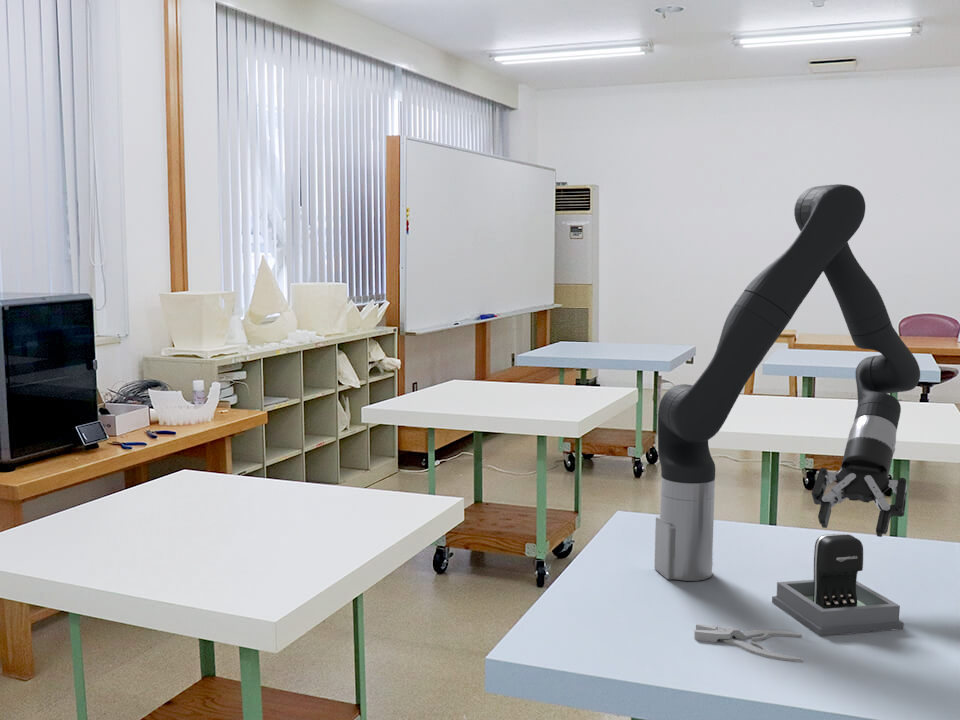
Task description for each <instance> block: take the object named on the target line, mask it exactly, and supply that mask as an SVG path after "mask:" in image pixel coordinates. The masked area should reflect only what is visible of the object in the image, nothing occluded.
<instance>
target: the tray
mask: <svg viewBox="0 0 960 720" xmlns="http://www.w3.org/2000/svg"><path fill="white" fill-rule="evenodd" d="M813 591H814V579H806V580H805V579H804V580H790V581H789V580H788V581H777V583H776V595H772V596H771V602H772V603H771V604H773V605H775V606H777V608H779V609H781V610H782V611H783V612H785V613H786V614H788V615H789V616H790V617H791V618H793V619H795V620H796V621H797V622H799V623H800V624H802V625H803V626H804V627H806V628H807V629H808V630H810V631H812V632H813V633H815V634H816V635H817V636H818V637H822V636H823V637H824V636H825V637H826V636H838V634H839V635H849V633H851V634H860V633H861V632H863V633H871V632H870V631H875V632H882V631H881V630H887V631H893V630H892V629H898V630H904V629H905V628H904V627H905V622H904V621H902V620H901V619H900V610H901V609H900V608H901V606H900V605H899V604H898V603H896V602H894V601H892V600H891V599H889V598H888V597H886V596H884V595H882V594H880V593H879V592H877V591H875V590H873V589H872V588H870V587H868V586H866V585H864V584H862V582H859V581H857V580H856V596H857V606H855V607H842V608H829V609H823V608H822V607H820V606H819V605H817V604H816V603H814V602H813Z"/></svg>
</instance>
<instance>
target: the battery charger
mask: <svg viewBox="0 0 960 720" xmlns="http://www.w3.org/2000/svg"><path fill="white" fill-rule="evenodd" d="M815 540H816V541H815V543H814V552H813V553H814V554H813V580H814V591H813V602H814V603H816V604H817V605H819V606H820V607H822V608H823V609H829V608H842V607H855V606H857V596H856V581H857V578H858V577H857V576H858V572H862V571H864V546H863V543H862V541H861V540H860V539H859V538H856V537H855V536H854V535H852V534H850V533H832V534H823V535H821V536H819V537H817V539H815Z"/></svg>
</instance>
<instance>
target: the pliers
mask: <svg viewBox="0 0 960 720" xmlns="http://www.w3.org/2000/svg"><path fill="white" fill-rule="evenodd" d="M693 631H694V632H693V633H694V635H693V638H694V640H695V641H703V642H704V641H705V642H713V643H717V642H718V641H721V642H724V643H725V644H728V645H732V646H735V647H738V648H740V649H742V650H745V651H746V652H749V653H751V654H755V655H757V656H762V657H766V658H770V659H775V660H781V661H788V662H797V663H798V662H800V663H802V662H803V657H798V656H793V655H788V654H787V655H786V654H781V653H776V652H774V651H773V652H772V651H770V650H768V649H767V648H766V647H765V646H763V645H761V643H758V642H757V641H762V640H764V639H767V638H768V637H774V636H775V637H792V638H802V635H803V634H802V633H799V632H793V631H785V630H775V629H753V630H746V631H741V630H740V629H738V628H736V627H733V626H732V627H731V626H728V627H727V626H726V627H724V628H722V627H721V628H719V627H718V626H717V625H710V624H703V623H696V624H695V629H694V630H693ZM733 637H734V638H735V639H733ZM739 639H744V640H745V639H751V640H750V641H751V642H750V643H748V642H746V641H742V640H739ZM755 641H756V642H755Z"/></svg>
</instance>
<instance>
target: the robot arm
mask: <svg viewBox="0 0 960 720" xmlns="http://www.w3.org/2000/svg"><path fill="white" fill-rule="evenodd" d="M793 210H794V211H793V212H794V213H793V214H794V220H795V223H796V225H797V227H798V229H799V231H800V232H799V234H798V235H797V237H796V238H795V240H794V241H793V242H792V243H791V244H790V246H789V247H788V248H787V249H786V250H785V251H784V252H783V253H781V254H780V256H778V257H777V258H776V259H775V260H774V261H773V262H771V263H770V264H769V265H768V266H767V267H765V268H764V269H763V270H762V271H761V272H760V273H759V274H757V276H756V277H754V279H752V280H751V281H750V283H749V284H748V285H747V286H746V287H745V289H744V290H743V292H742V293H741V294H740V296H739V298H738V299H737V300H736V302H735V303H734V305H733V306H732V308H731V309H730V311H729V313H728V315H727V317H726V319H725V321H724V323H723V326H722V329H721V333H720V337H719V341H718V343H717V347H716V350H715V353H714V355H713V357H712V358H711V361H710V362H709V363H708V365H707V367H706V368H705V370H704V371H703V372H702V373H701V375H700V376H699V377H698V379H697V380H696V381H695V382H694V383H693V385H691V384H687V383H686V384H684V383H683V384H678V385H674V386H672V387H670V388H669V389H668V390H667V391H665V393H664V394H663V396H662V398H661V400H660V402H659V406H658V412H657V413H658V414H657V453H658V454H657V455H658V460H659V462H660V469H661V470H660V471H661V472H660V476H661V477H660V507H659V510H660V512H659V516H656V517H655V529H654V530H655V533H654V534H655V537H654V570H656V571H657V572H658V573H659V574H661V575H662V576H663V577H664V578H665V579H666V580H678V581H686V582H693V581H694V582H698V581H704V580H707V579H709V578H711V577H712V575H713V565H714V564H713V554H714V553H713V552H714V550H713V549H714V546H713V545H714V521H715V518H714V517H715V492H716V491H715V489H716V464H715V461H714V460H713V456H712V454H711V452H710V449H709V448H710V447H709V440H711V439H712V438H713V437H715V436H716V435H717V434H718V432H719V431H720V430H721V429H722V427H723V425H724V423H725V422H726V421H727V418H728V416H729V415H730V413H731V411H732V409H733V407H734V405H735V403H736V402H737V400H738V398H739V396H740V395H741V392H742V391H743V389H744V388H745V386H746V384H747V382H748V381H749V379H751V376H752V375H753V374H754V372H755V371H756V369H757V368H758V367H759V366H760V364H761V362H762V361H763V360H764V358H765V356H766V355H767V353H768V352H769V351H770V349H771V348H772V347H773V345H774V344H775V342H777V340H778V339H779V337H780V336H781V334H782V333H783V331H784V330H785V328H786V327H787V326H788V324H789V322H790V321H791V320H792V318H793V317H794V315H795V313H796V312H797V311H798V309H799V307H800V306H801V304H802V303H803V302H804V300H805V299H806V297H807V296H808V294H809V293H810V292H811V290H812V289H813V287H814V285H815V284H816V283H817V281H818V279H819V278H820V277H821V275H822V273H823V274H824V275H825V277H826V279H827V281H828V283H829V286H830V287H831V290H832V292H833V294H834V297H835V298H836V300H837V303H838V305H839V307H840V310H841V313H842V316H843V318H844V321H845V324H846V327H847V330H848V331H849V335H850V338H851V339H852V342H853V345H855V347H857V348H858V349H861V350H872V351H876V352H878V353H880V354H879V355H874V356H867V357H865V358H863V359H862V360H861V361H860V362H859V363H858V364H857V366H856V369H855V383H856V389H857V390H856V391H857V407H856V411H855V415H854V419H853V424H852V425H851V427H850V431H849V433H848V436H847V437H848V438H847V441H846V446H845V449H844V454H843V457H842V462H841V466H840V468H839V470H838V471H837V472H832V471H828V469H827V468H826V467H821V468H820V469H819V471H818V474H817V476H816V480H815V482H814V486H813V489H812V491H811V497H812V501H813V504H815V505H816V506H817V505H819V506H820V508H819V512H818V514H817V519H818V522H819V524H820V525H821V528H825V529H828V526H829V521H830V517H831V514H832V508H833V507H834V506H836V505H837V504H841V503H842V502H844V501H845V500H846V499H848V500H849V501H854V502H855V501H856V502H857V501H861V502H862V503H867V504H868V503H869V504H870V502H872V501H873V502H874V505H875V506H876V507H877V509H878V510H879V513H878V517H877V518H878V519H877V522H876V527H875V533H876V537H879V538H882V537H883V535H886V534H887V533H888V530H889V526H890V525H889V524H890V522H891V518H893V517H896V516H897V517H899V518H902V517H904V516H905V511H906V503H907V496H908V484H907V483H908V482H907V480H906V478H904V477H899V478H898V479H890V478H889V475H890V472H891V466H892V462H893V459H894V458H893V457H894V454H895V451H896V442H897V431H898V426H899V421H900V417H901V412H902V409H901V407H902V406H901V403H900V401H899V400H898V399H897V398H896V397H895V396H893V395H891V394H893V393H903V392H908V391H909V392H910V391H912V390H914V389H915V388H916V387H918V384H919V382H920V379H921V369H920V366H919V363H918V361H917V359H916V357H915V355H914V354H913V352H912V351H911V350H910V349H909V348H908V346H907V345H906V344H905V342H904V341H903V340H902V338H901V337H900V335H899V334H898V333H897V331H896V329H895V328H894V327H893V324H892V321H891V319H890V315H889V313H888V310H887V308H886V305H885V303H884V300H883V297H882V295H881V293H880V292H879V289H878V288H877V287H876V285H875V284H874V283H873V281H872V279H871V278H870V277H869V276H868V274H867V273H866V271H865V270H864V269H863V267H862V266H861V264H860V263H859V262H858V260H857V258H856V257H855V255H854V253H853V251H852V249H851V247H850V245H849V241H850V240H851V238H852V237H853V236H854V235H855V233H856V232H857V231H858V230H859V229H860V227H861V224H862V223H863V221H864V218H865V215H866V214H865V213H866V201H865V198H864V195H863V193H862V192H861V191H860V190H859V189H857V188H856V187H855V186H852V185H848V184H841V183H840V184H839V183H838V184H826V185H819V186H818V185H817V186H813V187H810V188H808V189H806V190H805V191H803V192H802V193H801V194H800V195H799V196H798V198H797V200H796V202H795V205H794V209H793ZM834 481H835V482H836V484H835V485H834V486H833V487H831V490H830V491H828V492H827V493H826V494H825V491H826V489H827V486H831V484H832V482H834ZM890 488H891V489H892V493H894V494H895V503H894V504H889V501H887V499H886V498H885V495H884V493H886V491H888V490H889V489H890Z"/></svg>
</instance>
